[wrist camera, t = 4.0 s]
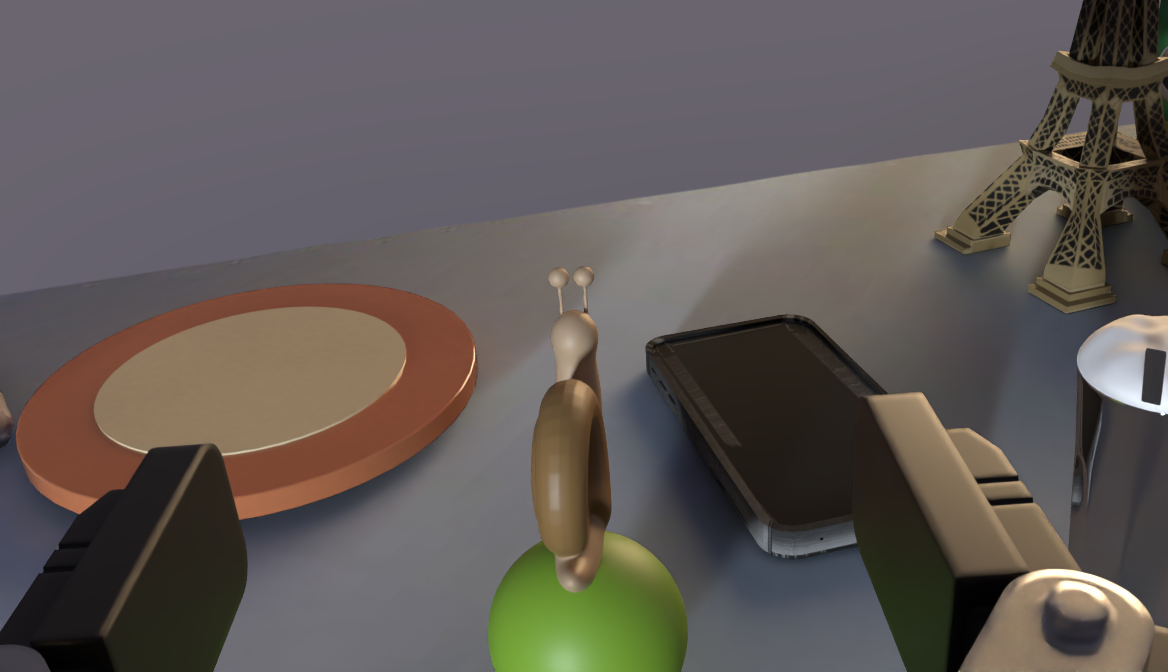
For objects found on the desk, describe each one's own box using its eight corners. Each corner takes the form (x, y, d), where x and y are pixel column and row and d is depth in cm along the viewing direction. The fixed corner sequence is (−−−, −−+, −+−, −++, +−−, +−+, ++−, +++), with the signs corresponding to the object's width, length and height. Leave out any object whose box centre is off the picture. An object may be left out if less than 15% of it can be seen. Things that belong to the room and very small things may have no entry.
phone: (802, 310, 50) (988, 490, 37) (802, 333, 50) (985, 517, 37) (636, 340, 48) (768, 537, 35) (637, 362, 49) (767, 565, 36)
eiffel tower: (1250, 272, 53) (1386, -329, 42) (1066, 313, 50) (1156, -315, 39) (1097, 205, 62) (1174, -304, 51) (934, 237, 60) (977, -291, 48)
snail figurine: (686, 613, 34) (673, 259, 29) (693, 781, 28) (678, 378, 23) (514, 616, 35) (470, 268, 29) (487, 781, 29) (425, 387, 24)
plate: (-64, 560, 39) (-81, 520, 39) (123, 327, 56) (114, 295, 56) (462, 523, 39) (456, 482, 38) (491, 300, 56) (487, 268, 55)
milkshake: (1015, 630, 33) (1058, 329, 28) (1066, 535, 36) (1111, 257, 32) (1185, 691, 30) (1261, 371, 26) (1221, 582, 34) (1293, 287, 29)
